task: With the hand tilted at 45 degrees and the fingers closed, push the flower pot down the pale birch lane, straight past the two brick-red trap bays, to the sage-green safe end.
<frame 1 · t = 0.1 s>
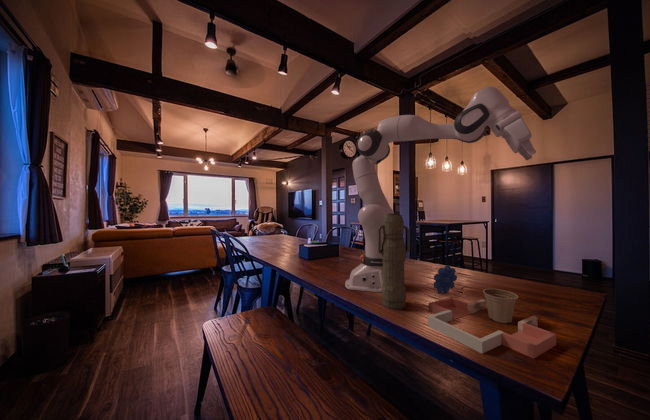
hand: (531, 156, 81), 54 cm above the table, tool tilted 30°, fingers open, 8 cm apart
thermos: (393, 305, 91), on the table
safe end: (464, 333, 70), on the table
flower pot: (500, 319, 79), on the table
grapes: (443, 292, 105), on the table
lane: (500, 314, 79), on the table
trap bays: (483, 325, 75), on the table
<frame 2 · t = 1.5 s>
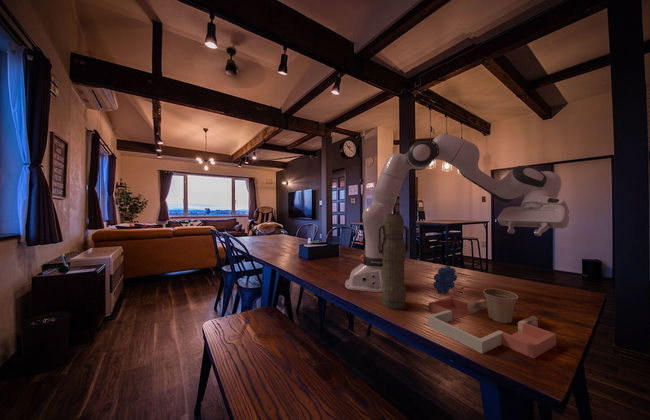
hand: (523, 233, 86), 28 cm above the table, tool tilted 45°, fingers open, 7 cm apart
nothing on the table moved.
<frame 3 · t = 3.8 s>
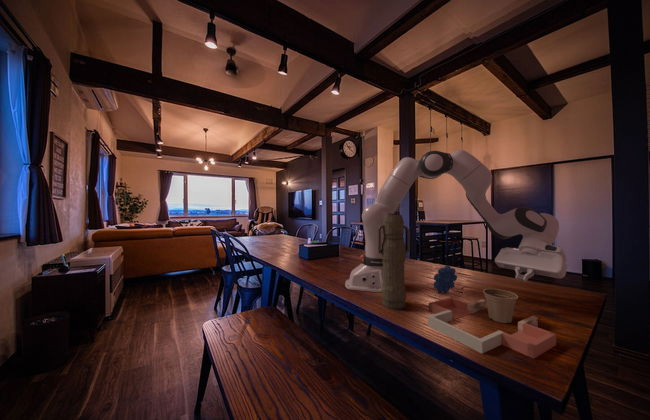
hand: (520, 280, 85), 11 cm above the table, tool tilted 45°, fingers closed
nothing on the table moved.
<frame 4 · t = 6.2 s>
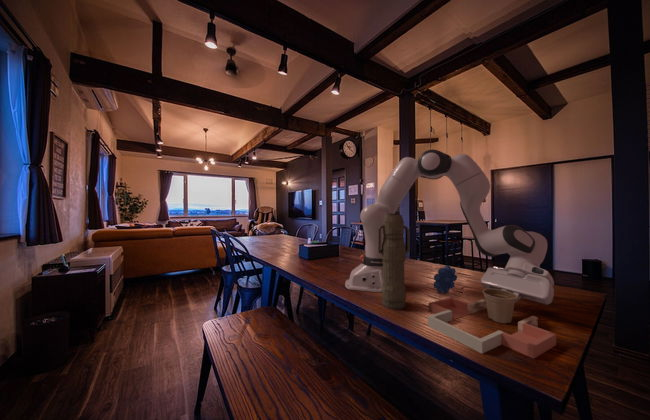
hand: (506, 304, 81), 4 cm above the table, tool tilted 45°, fingers closed, pressing on flower pot
flower pot: (499, 320, 79), on the table, touching gripper
everything else where it was.
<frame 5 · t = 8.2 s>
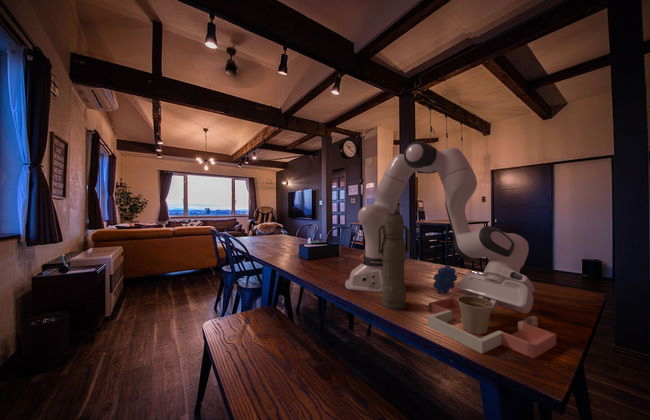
hand: (482, 312, 74), 4 cm above the table, tool tilted 45°, fingers closed, pressing on flower pot
flower pot: (474, 330, 72), on the table, touching gripper
everything else where it was.
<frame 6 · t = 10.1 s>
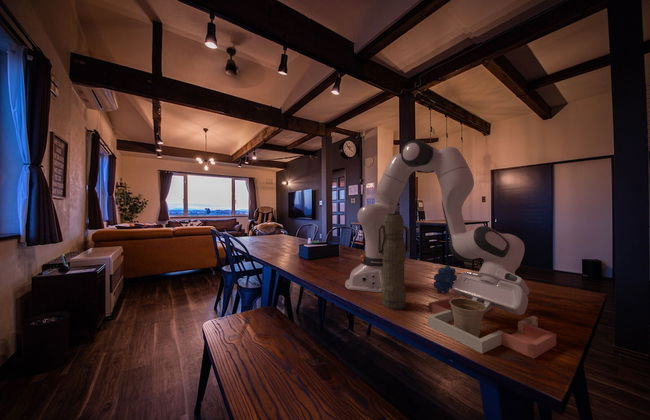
hand: (476, 314, 73), 4 cm above the table, tool tilted 45°, fingers closed
flower pot: (467, 333, 71), on the table
everything else where it was.
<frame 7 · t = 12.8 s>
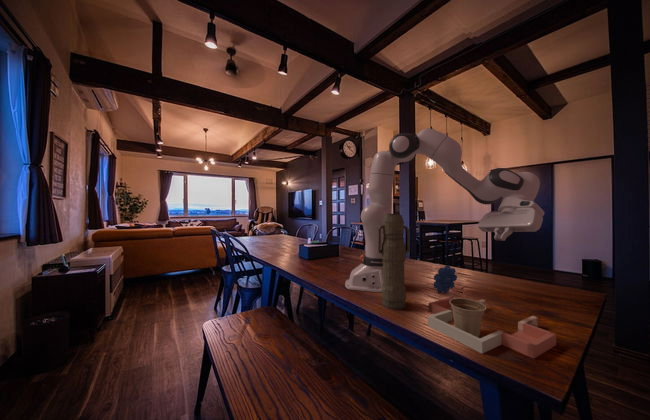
hand: (499, 239, 86), 26 cm above the table, tool tilted 40°, fingers closed
nothing on the table moved.
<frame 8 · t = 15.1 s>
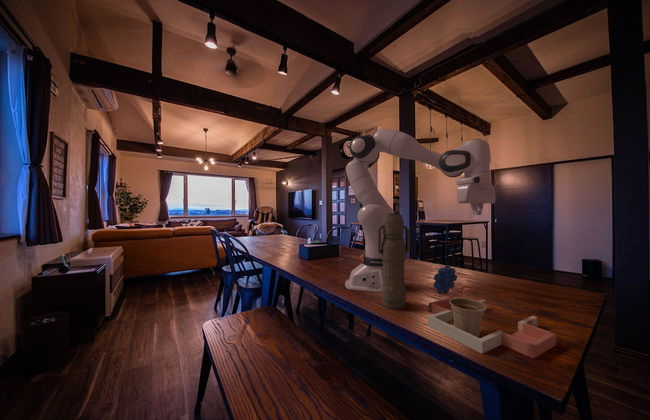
hand: (477, 215, 95), 34 cm above the table, tool pointing down, fingers closed
nothing on the table moved.
at the end: flower pot 1.0 cm from the safe end (horizontally); flower pot touching table; flower pot tilted 0° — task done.
